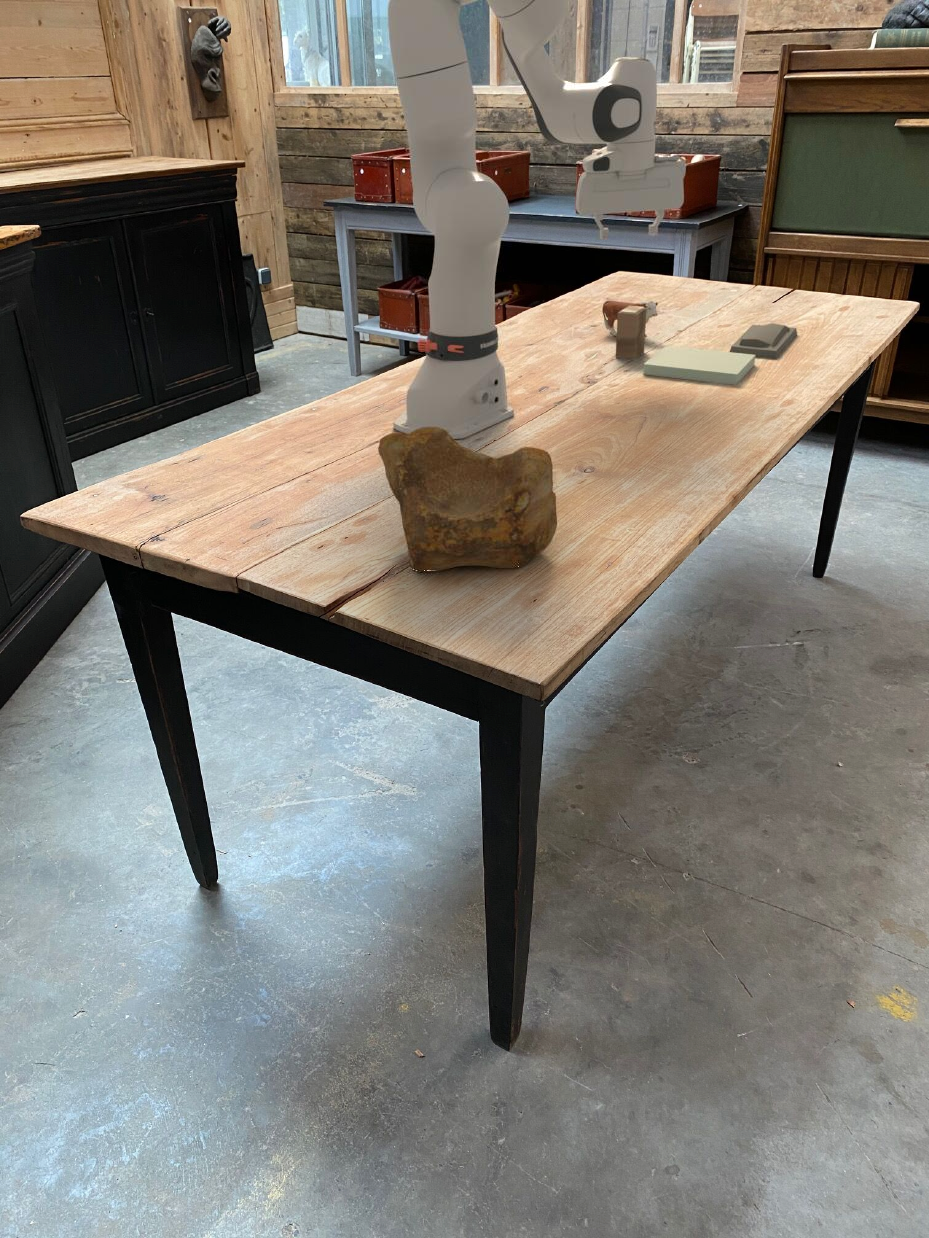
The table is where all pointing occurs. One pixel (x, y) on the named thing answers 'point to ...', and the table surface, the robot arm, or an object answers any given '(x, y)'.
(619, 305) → the bull figurine
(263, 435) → the table surface
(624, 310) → the block
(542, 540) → the rough brown rock
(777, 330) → the soap mold
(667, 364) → the board
